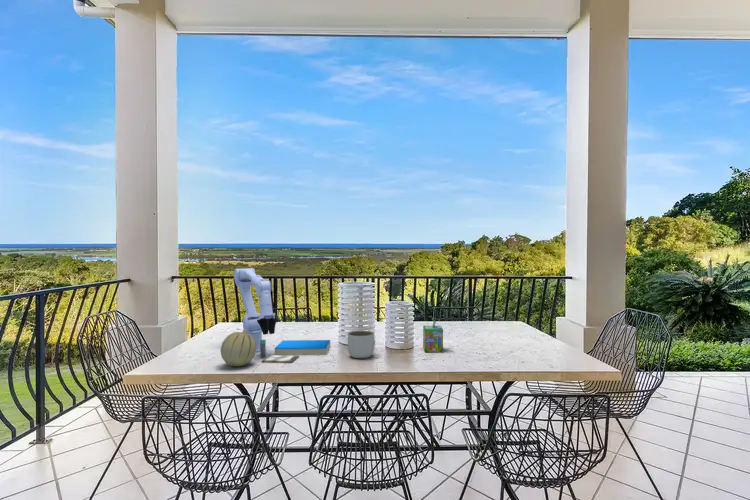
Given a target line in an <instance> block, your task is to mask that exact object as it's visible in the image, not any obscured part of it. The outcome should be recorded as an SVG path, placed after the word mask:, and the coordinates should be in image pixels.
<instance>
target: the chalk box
mask: <svg viewBox="0 0 750 500" xmlns="http://www.w3.org/2000/svg"><path fill="white" fill-rule="evenodd" d="M436 323H437V321H436V320H435V319H434V320H433V323H432V325H423V326H422V327H423V328H422V336H423V337H422V348H423V351H424V353H444V328H443V326H441V325H436Z"/></svg>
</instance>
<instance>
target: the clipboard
mask: <svg viewBox="0 0 750 500" xmlns="http://www.w3.org/2000/svg"><path fill="white" fill-rule="evenodd" d="M299 358H300V355H275V354H270V355H268V356H267V357H265V358H263V360H261V363H271V364H272V363H273V364H274V363H276V364H278V363H280V364H293V363H294V362H296V360H297V359H299Z"/></svg>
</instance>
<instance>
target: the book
mask: <svg viewBox="0 0 750 500" xmlns="http://www.w3.org/2000/svg"><path fill="white" fill-rule="evenodd" d="M330 348H331V340H330V339H312V340H311V339H305V340H303V339H302V340H300V339H299V340H298V339H296V340H295V339H294V340H292V339H290V340H288V339H287V340H281V342H279V344H277V345H276V346H275V347H274V355H287V356H327V354H328V352H329V350H330Z"/></svg>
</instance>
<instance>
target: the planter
mask: <svg viewBox="0 0 750 500" xmlns="http://www.w3.org/2000/svg"><path fill="white" fill-rule="evenodd" d="M374 349H375V332H373V331H370V330H353V331H349V332H348V333H347V350H348V353H349V356H351V357H352V358H354V359H367V358H370V357H372V355H373V353H374V352H375V351H374Z"/></svg>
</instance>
